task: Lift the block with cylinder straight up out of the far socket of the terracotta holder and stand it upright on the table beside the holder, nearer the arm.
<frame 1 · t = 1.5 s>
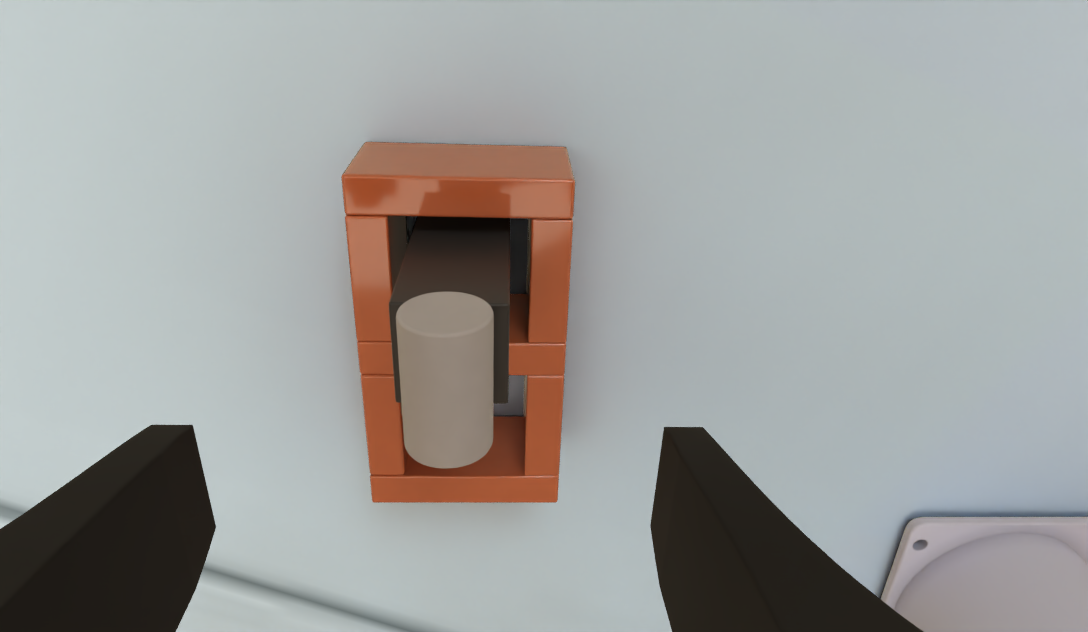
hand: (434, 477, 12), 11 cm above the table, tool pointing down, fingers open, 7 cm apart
block with cylinder: (467, 238, 21), resting in holder
holder: (468, 307, 22), on the table
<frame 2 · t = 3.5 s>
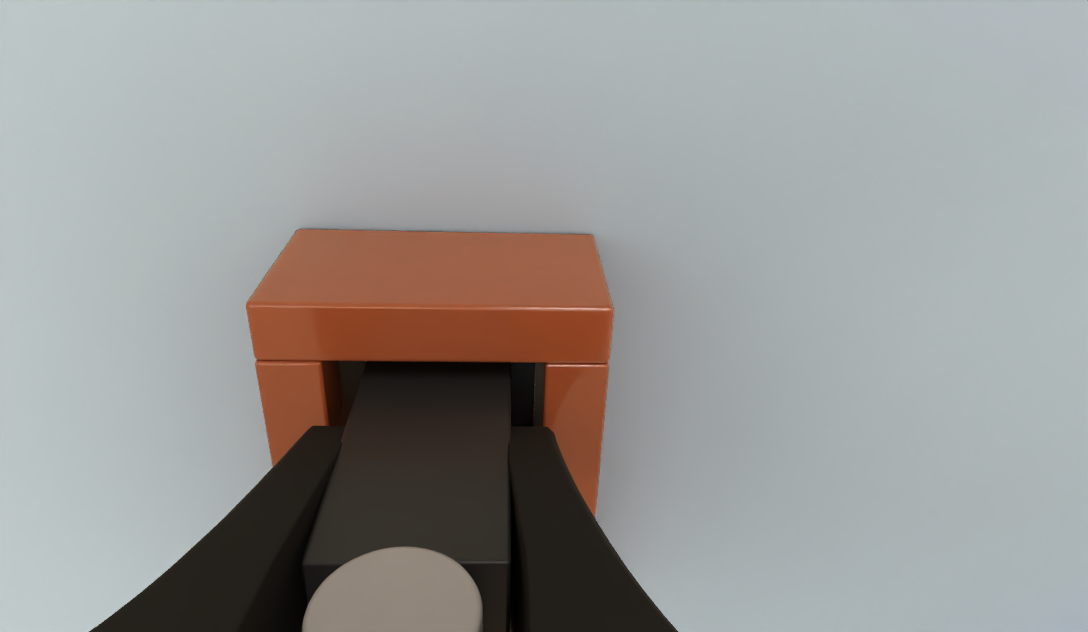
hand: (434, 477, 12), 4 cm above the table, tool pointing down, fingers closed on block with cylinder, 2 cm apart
block with cylinder: (449, 357, 15), resting in holder, touching gripper
holder: (452, 445, 16), on the table
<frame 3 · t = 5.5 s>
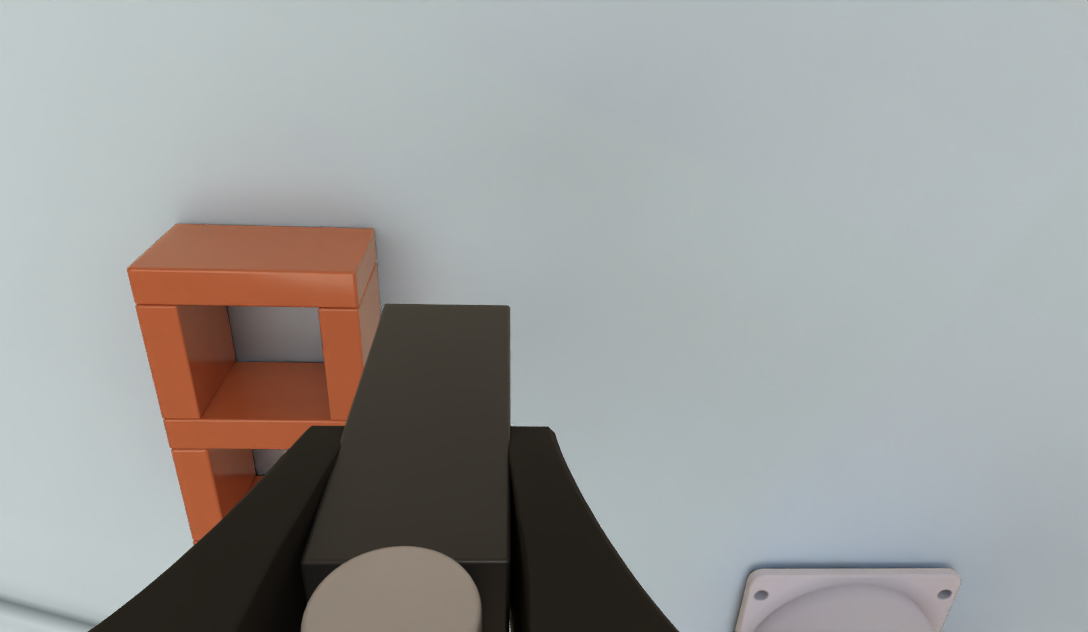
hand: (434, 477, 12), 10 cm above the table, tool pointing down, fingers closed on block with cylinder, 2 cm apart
block with cylinder: (448, 357, 15), point 7 cm above the table, touching gripper
holder: (296, 375, 23), on the table
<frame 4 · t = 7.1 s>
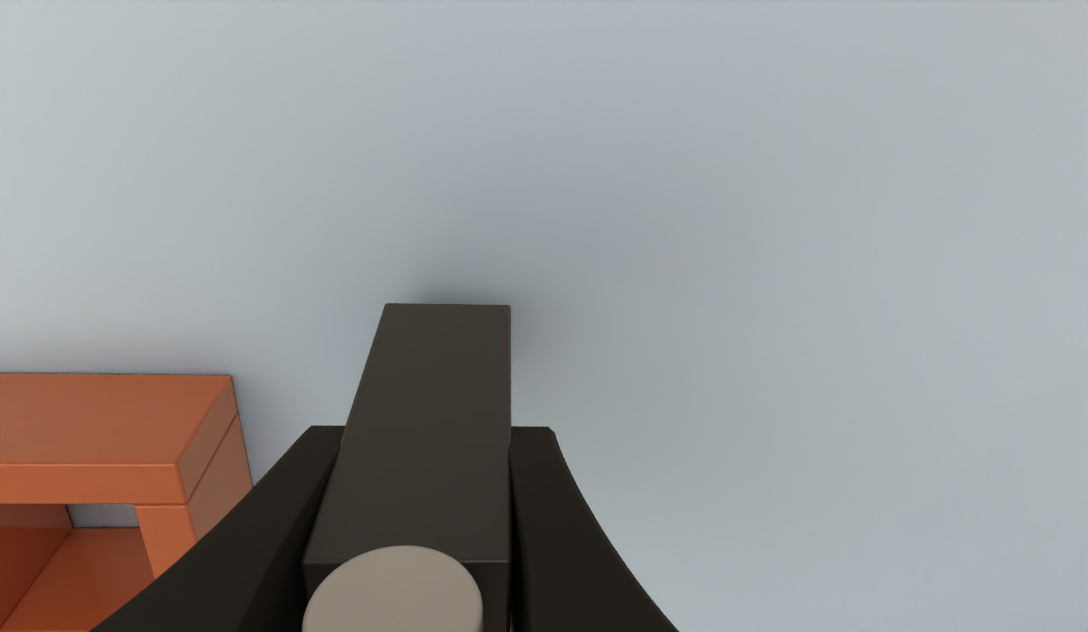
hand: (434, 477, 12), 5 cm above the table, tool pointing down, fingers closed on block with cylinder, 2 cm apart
block with cylinder: (449, 356, 15), point 1 cm above the table, touching gripper
holder: (151, 542, 18), on the table
when the fingers open (4 cm above the table, at t = 7.7 s): block with cylinder stays where it is, on the table.
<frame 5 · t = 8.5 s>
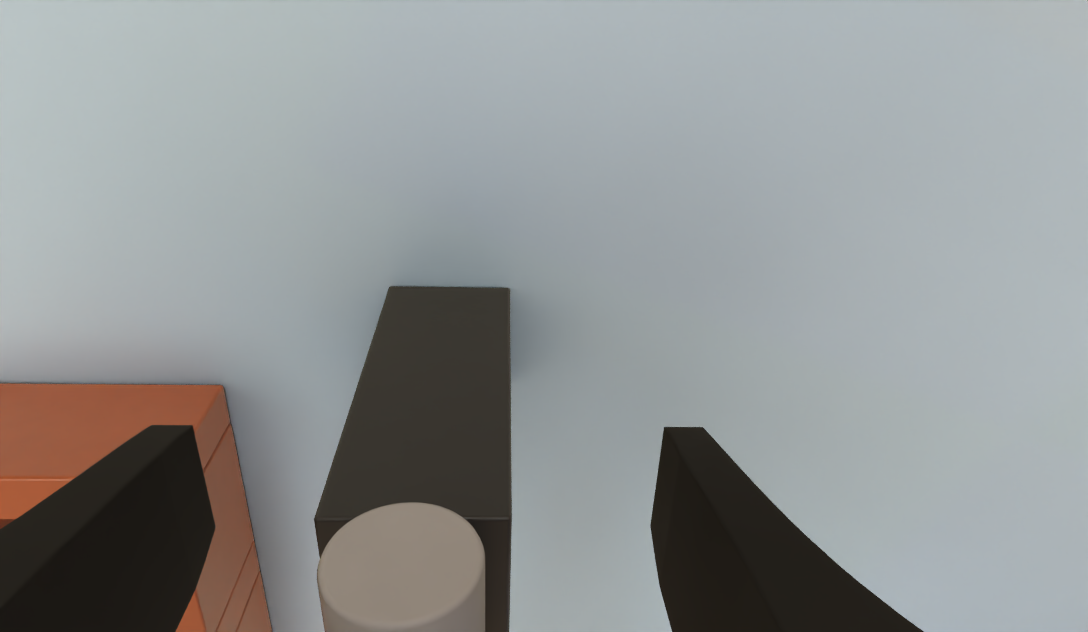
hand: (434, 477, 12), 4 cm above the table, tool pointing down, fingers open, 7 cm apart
block with cylinder: (451, 338, 15), on the table
holder: (142, 554, 18), on the table
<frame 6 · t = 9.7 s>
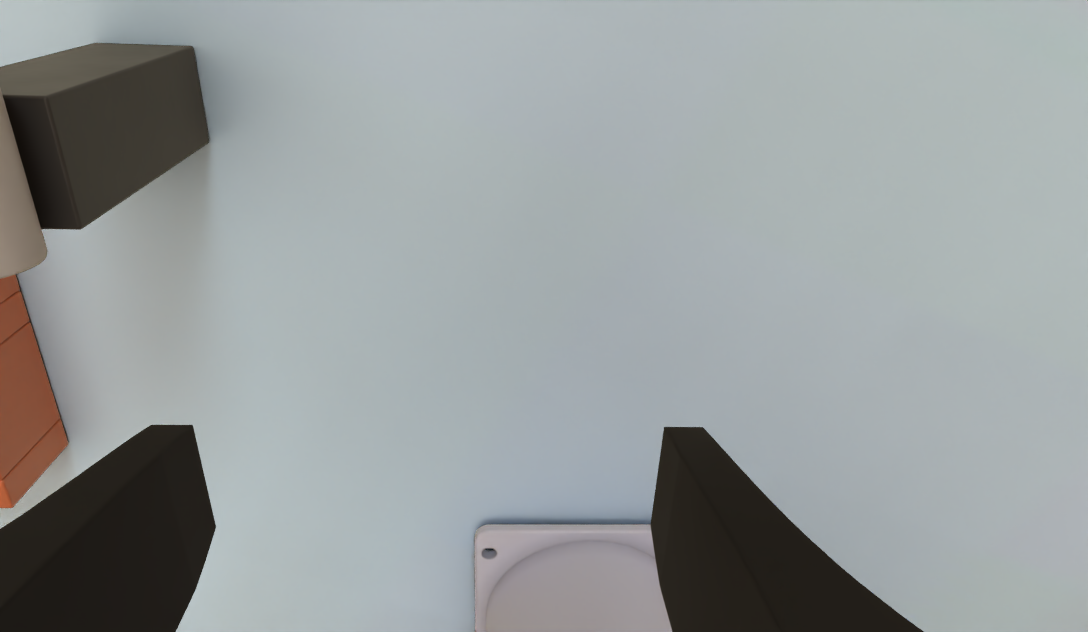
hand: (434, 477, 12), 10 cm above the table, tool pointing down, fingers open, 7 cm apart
block with cylinder: (154, 94, 19), on the table
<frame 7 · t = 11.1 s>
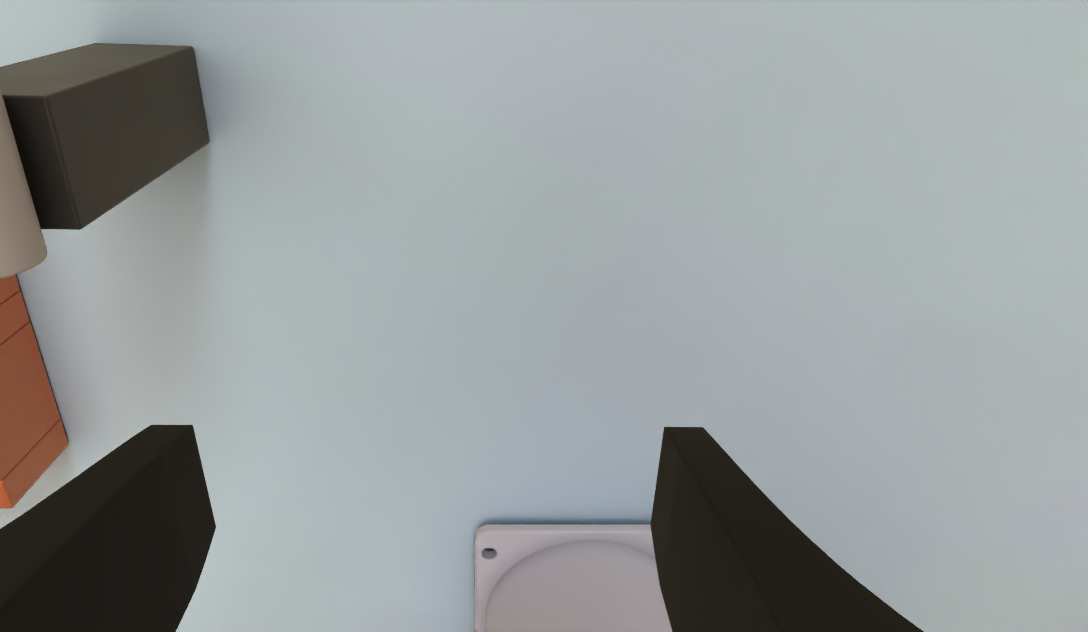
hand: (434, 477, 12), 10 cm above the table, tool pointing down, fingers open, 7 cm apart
block with cylinder: (153, 94, 19), on the table
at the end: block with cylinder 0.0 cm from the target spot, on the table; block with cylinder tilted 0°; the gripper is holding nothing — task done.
